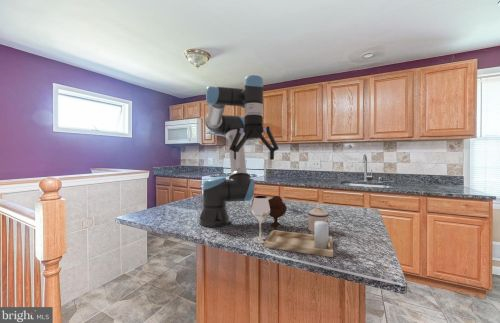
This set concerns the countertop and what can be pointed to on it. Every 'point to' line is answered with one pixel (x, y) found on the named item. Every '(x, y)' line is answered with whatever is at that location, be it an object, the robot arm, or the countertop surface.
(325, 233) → the white rounded capsule
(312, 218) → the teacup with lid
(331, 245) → the tray
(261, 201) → the wineglass
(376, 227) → the countertop surface
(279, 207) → the ice cream bowl
